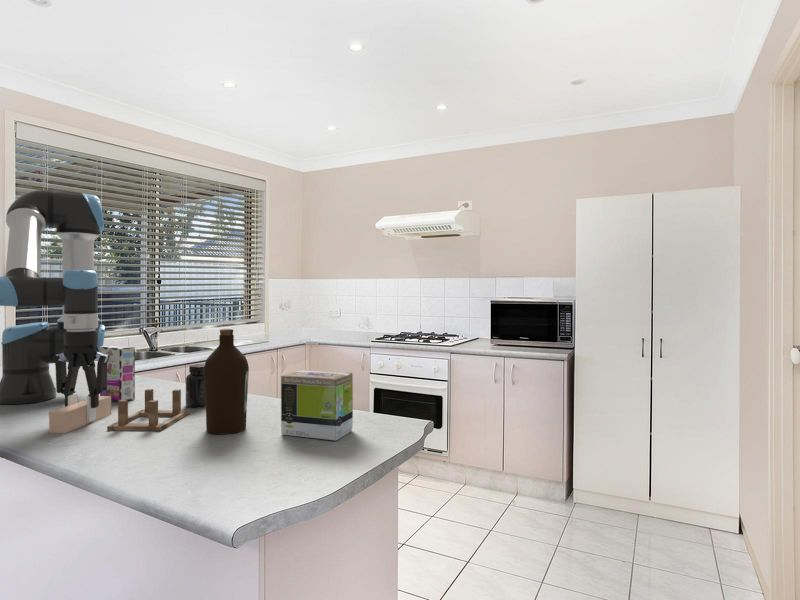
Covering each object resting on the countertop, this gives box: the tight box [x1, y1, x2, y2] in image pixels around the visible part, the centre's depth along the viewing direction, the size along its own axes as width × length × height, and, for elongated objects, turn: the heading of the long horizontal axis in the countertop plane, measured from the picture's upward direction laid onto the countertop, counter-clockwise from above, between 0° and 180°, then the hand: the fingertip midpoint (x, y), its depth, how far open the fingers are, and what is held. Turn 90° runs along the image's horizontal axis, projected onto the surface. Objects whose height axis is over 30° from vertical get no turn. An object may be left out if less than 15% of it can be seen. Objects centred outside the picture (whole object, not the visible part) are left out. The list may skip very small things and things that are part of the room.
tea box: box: [280, 369, 354, 442], centre depth 125 cm, size 15×10×15 cm, turn 71°
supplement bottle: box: [185, 363, 206, 409], centre depth 151 cm, size 7×7×12 cm
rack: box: [106, 388, 191, 432], centre depth 133 cm, size 17×13×7 cm
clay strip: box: [48, 395, 112, 434], centre depth 131 cm, size 18×4×5 cm, turn 177°
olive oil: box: [204, 328, 250, 435], centre depth 127 cm, size 11×11×25 cm
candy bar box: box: [99, 345, 136, 402], centre depth 158 cm, size 11×5×16 cm, turn 61°
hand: (82, 420), depth 131 cm, fingers closed on clay strip, 4 cm apart
